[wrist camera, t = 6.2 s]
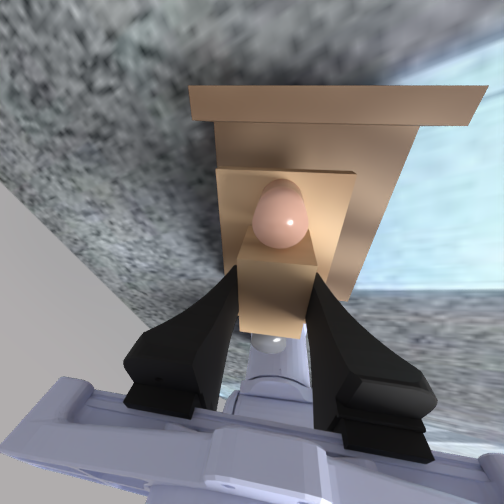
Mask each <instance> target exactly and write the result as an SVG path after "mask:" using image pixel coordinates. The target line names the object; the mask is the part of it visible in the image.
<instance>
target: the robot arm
mask: <svg viewBox="0 0 504 504" xmlns="http://www.w3.org/2000/svg"><path fill="white" fill-rule="evenodd" d="M238 313H239V301H238V277H237V265H234V266H233V267H232V268H231V269H230V271H229V272H228V273H227V274H226V275H225V276H224V277H223V278H222V280H221V281H220V282H219V283H218V284H217V285H216V286H215V287H214V288H213V289H211V290H210V291H209V292H208V293H207V294H206V295H205V296H204V297H202V298H201V299H200V300H199V301H197V302H196V303H195V304H193V305H192V306H191V307H189V308H188V309H186V310H185V311H183V312H182V313H180V314H179V315H177V316H175V317H173V318H172V319H170V320H168V321H166V322H164V323H162V324H160V325H158V326H156V327H154V328H152V329H150V330H148V331H146V332H144V333H143V334H142V335H141V336H140V337H139V339H138V340H137V341H136V343H135V344H134V346H133V347H132V349H131V350H130V352H129V353H128V354H127V356H126V357H125V359H124V361H123V365H124V368H125V370H126V371H127V373H128V374H129V376H130V377H131V379H132V380H133V382H134V384H133V386H132V387H131V389H130V391H129V392H128V394H127V395H123V394H118V393H112V392H107V391H101V390H96V389H94V387H93V386H92V384H90V383H89V382H87V381H85V380H82V379H76V378H70V377H65V376H63V377H60V378H59V379H58V381H57V382H56V383H55V384H54V385H53V386H52V387H51V388H50V390H49V391H48V392H47V393H46V394H45V395H44V396H43V397H42V399H41V400H40V401H39V402H38V403H37V404H36V405H35V406H34V407H33V408H32V410H31V411H30V412H29V413H28V414H27V415H26V416H25V417H24V419H23V420H22V421H21V422H20V423H19V424H18V426H16V428H15V429H14V430H13V431H12V432H11V433H10V434H9V435H8V436H7V438H6V439H5V440H4V441H3V442H2V443H1V444H0V453H2V454H4V455H7V456H9V457H12V458H14V459H17V460H20V461H22V462H24V463H27V464H30V465H32V466H34V467H37V468H41V469H45V470H49V471H53V472H57V473H61V474H65V475H69V476H73V477H77V478H80V479H85V480H88V481H92V482H95V483H99V484H103V485H106V486H110V487H114V488H118V489H122V490H125V491H129V492H132V493H136V494H140V495H143V496H147V497H148V498H147V500H146V503H145V504H504V454H501V453H487V454H484V455H481V456H480V457H479V458H478V459H477V458H471V457H466V456H460V455H455V454H449V453H444V452H438V451H433V450H430V447H429V445H428V443H427V441H426V439H425V436H424V434H423V433H425V432H426V428H425V426H424V424H423V422H422V420H421V419H422V418H423V417H424V416H426V415H427V414H428V413H430V412H431V411H432V410H433V409H434V408H435V407H436V405H437V401H438V400H437V398H436V396H435V394H434V393H433V391H432V389H431V387H430V385H429V383H428V382H427V380H426V378H425V377H424V375H423V374H422V372H421V371H420V370H418V369H417V368H416V367H414V366H413V365H411V364H410V363H408V362H407V361H405V360H404V359H402V358H401V357H399V356H398V355H397V354H395V353H394V352H393V351H391V350H390V349H389V348H387V347H386V346H385V345H384V344H382V343H381V342H380V341H379V340H377V339H376V338H375V337H374V336H373V335H371V334H370V333H369V332H368V331H367V330H366V329H365V328H363V327H362V326H361V325H360V324H359V323H358V322H357V321H356V320H355V319H354V318H353V317H352V316H351V315H350V314H349V313H348V312H347V310H346V309H345V308H344V307H343V306H342V305H341V303H340V302H339V301H338V300H337V298H336V297H335V296H334V295H333V293H332V292H331V291H330V289H329V288H328V286H327V285H326V284H325V282H324V281H323V279H322V278H321V276H320V275H319V273H316V275H315V279H314V283H313V288H312V292H311V296H310V300H309V304H308V308H307V312H306V316H305V322H306V324H303V328H302V333H301V337H300V339H294V338H286V348H285V349H284V350H283V351H282V352H280V353H276V354H267V353H263V352H260V351H258V350H256V349H255V348H254V347H253V346H252V344H251V346H250V353H249V359H248V366H247V372H246V378H245V380H242V381H241V387H240V391H239V390H234V391H233V393H232V394H231V395H230V396H229V397H228V399H227V401H226V403H225V406H224V409H223V412H217V411H216V410H217V404H218V399H219V394H220V388H221V383H222V378H223V372H224V367H225V362H226V357H227V353H228V348H229V343H230V339H231V335H232V332H233V328H234V325H235V322H236V319H237V316H238ZM306 332H307V334H308V339H309V346H310V358H311V373H312V388H310V379H309V369H308V359H307V349H306V339H305V335H306ZM251 337H252V333H251Z"/></svg>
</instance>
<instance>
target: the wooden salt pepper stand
mask: <svg viewBox="0 0 504 504" xmlns="http://www.w3.org/2000/svg"><path fill="white" fill-rule="evenodd" d="M356 178H357V174H356V173H355V172H353V171H342V170H314V169H286V168H258V167H230V166H220V167H218V168H216V181H217V192H218V204H219V215H220V226H221V238H222V249H223V261H224V272H225V275H226V274H227V273H228V272H229V271H230V269H231V268H232V267H233V266H234V265H237V277H238V301H239V313H238V316H239V326H240V331H241V332H249V333H252V337H251V344H252V346H253V347H254V348H255V349H256V350H258V351H260V352H263V353H267V354H276V353H280V352H282V351H283V350H284V349H285V348H286V338H294V339H300V337H301V333H302V328H303V324H306V322H305V316H306V312H307V308H308V304H309V300H310V296H311V292H312V288H313V283H314V279H315V275H316V273H319V275H320V276H321V278H322V279H323V281H324V282H325V284H326V281H327V278H328V274H329V271H330V267H331V264H332V260H333V257H334V253H335V250H336V247H337V243H338V240H339V236H340V233H341V229H342V226H343V223H344V219H345V216H346V212H347V209H348V205H349V202H350V198H351V195H352V192H353V188H354V185H355V181H356Z"/></svg>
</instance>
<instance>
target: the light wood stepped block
mask: <svg viewBox="0 0 504 504" xmlns="http://www.w3.org/2000/svg"><path fill="white" fill-rule="evenodd" d="M487 88H488V86H188V90H189V98H190V106H191V114H192V120H195V121H209V122H214V132H215V145H216V159H217V168H218V167H220V166H230V167H258V168H286V169H314V170H342V171H353V172H355V173H356V174H357V178H356V181H355V185H354V188H353V192H352V195H351V198H350V202H349V205H348V209H347V212H346V216H345V219H344V223H343V226H342V229H341V233H340V236H339V240H338V243H337V247H336V250H335V253H334V257H333V260H332V264H331V267H330V271H329V274H328V278H327V281H326V285H327V286H328V288H329V289H330V291H331V292H332V293H333V295H334V296H335V297H336V298H337V300H339V301H348V300H349V297H350V295H351V292H352V290H353V287H354V285H355V283H356V280H357V278H358V275H359V273H360V270H361V268H362V266H363V263H364V261H365V258H366V256H367V253H368V251H369V249H370V246H371V244H372V241H373V239H374V236H375V234H376V232H377V229H378V227H379V224H380V222H381V219H382V217H383V215H384V212H385V210H386V207H387V205H388V202H389V200H390V198H391V195H392V193H393V190H394V188H395V185H396V183H397V181H398V178H399V176H400V173H401V171H402V168H403V166H404V164H405V161H406V159H407V156H408V154H409V151H410V149H411V147H412V144H413V142H414V139H415V137H416V134H417V132H418V130H419V127H420V126H468V124H469V123H470V121H471V119H472V117H473V115H474V113H475V111H476V109H477V107H478V105H479V103H480V102H481V100H482V98H483V96H484V94H485V92H486V90H487Z"/></svg>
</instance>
